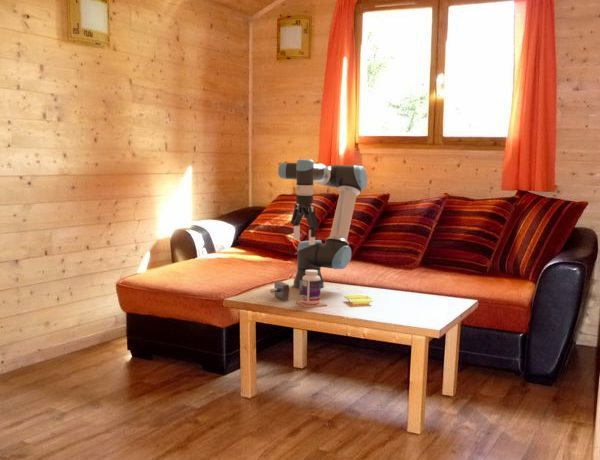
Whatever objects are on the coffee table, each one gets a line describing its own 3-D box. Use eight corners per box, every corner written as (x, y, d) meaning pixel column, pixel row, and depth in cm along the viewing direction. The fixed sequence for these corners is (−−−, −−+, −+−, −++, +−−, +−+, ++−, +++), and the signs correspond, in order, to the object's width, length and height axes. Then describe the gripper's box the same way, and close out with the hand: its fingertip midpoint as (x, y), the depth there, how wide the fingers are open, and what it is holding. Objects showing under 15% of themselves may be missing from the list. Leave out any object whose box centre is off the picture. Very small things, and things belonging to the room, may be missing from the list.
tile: (315, 300, 288) (315, 299, 288) (326, 305, 279) (326, 304, 279) (296, 302, 284) (296, 301, 284) (306, 307, 275) (306, 306, 275)
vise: (312, 293, 304) (312, 279, 303) (321, 297, 296) (322, 282, 295) (266, 297, 293) (266, 282, 292) (274, 301, 285) (274, 286, 284)
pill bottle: (322, 301, 284) (323, 269, 283) (317, 305, 277) (318, 272, 275) (304, 300, 287) (305, 268, 285) (299, 303, 279) (300, 271, 277)
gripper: (283, 192, 290) (283, 238, 293) (311, 197, 269) (311, 246, 272) (298, 192, 294) (297, 237, 297) (326, 196, 273) (326, 245, 275)
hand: (304, 242), depth 284 cm, fingers open, 13 cm apart
